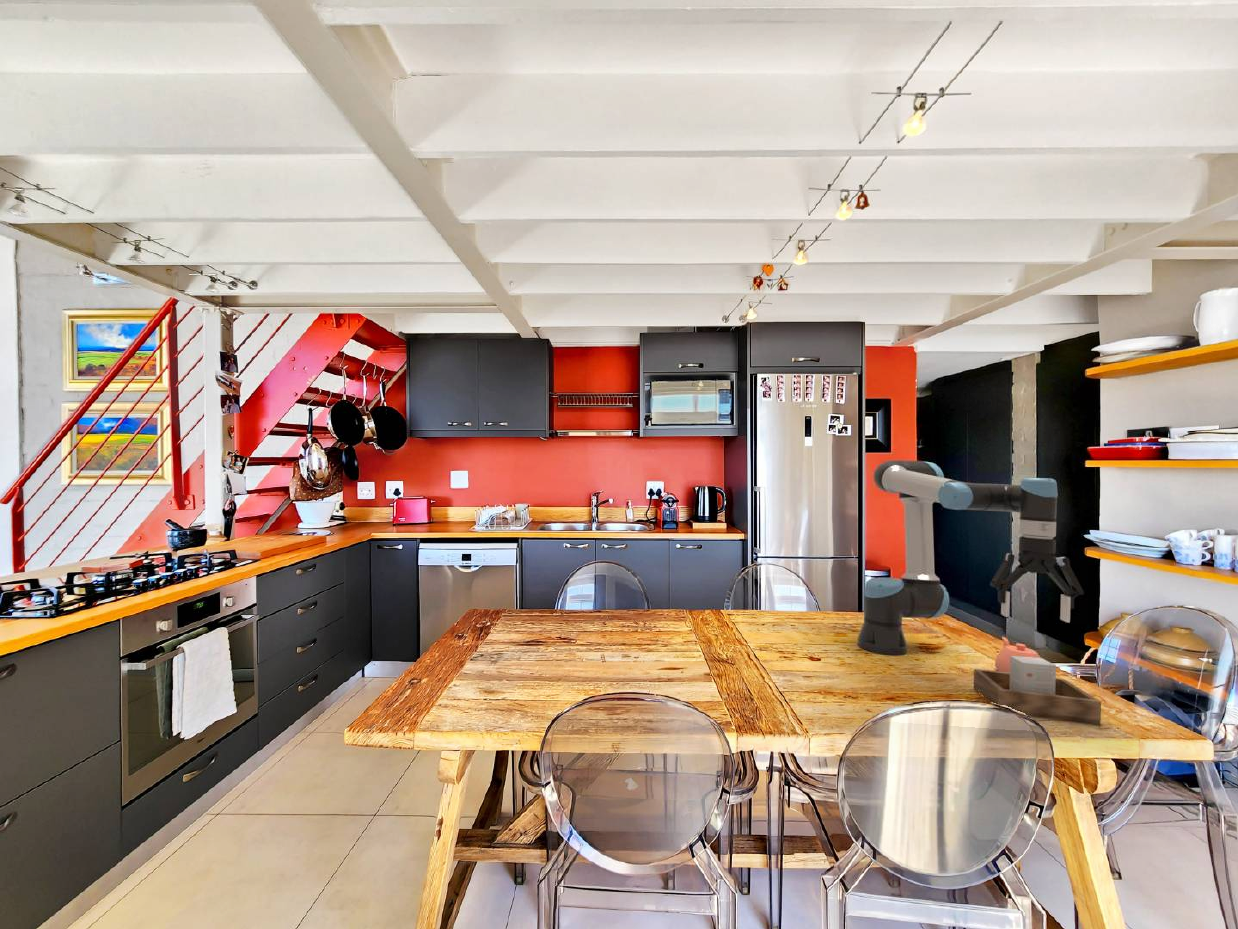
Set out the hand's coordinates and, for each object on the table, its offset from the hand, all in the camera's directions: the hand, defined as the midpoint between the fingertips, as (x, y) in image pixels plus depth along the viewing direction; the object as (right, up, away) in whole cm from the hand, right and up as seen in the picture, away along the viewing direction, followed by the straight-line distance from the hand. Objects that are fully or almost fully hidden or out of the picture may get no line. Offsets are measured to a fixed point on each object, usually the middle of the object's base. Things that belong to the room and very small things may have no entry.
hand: (1034, 618), depth 138 cm
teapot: (+12, -24, +22) cm, 35 cm away
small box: (-1, -22, 0) cm, 22 cm away
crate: (-1, -23, 0) cm, 23 cm away
